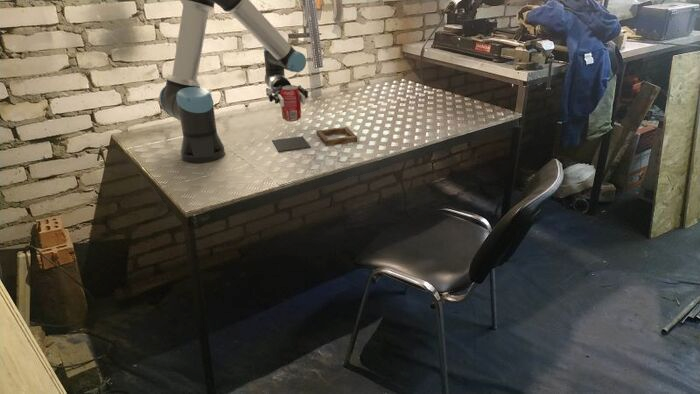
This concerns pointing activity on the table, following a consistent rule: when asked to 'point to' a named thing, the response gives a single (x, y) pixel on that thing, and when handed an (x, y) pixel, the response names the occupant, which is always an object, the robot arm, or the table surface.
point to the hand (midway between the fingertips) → (293, 101)
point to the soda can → (291, 103)
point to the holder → (336, 141)
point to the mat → (291, 144)
